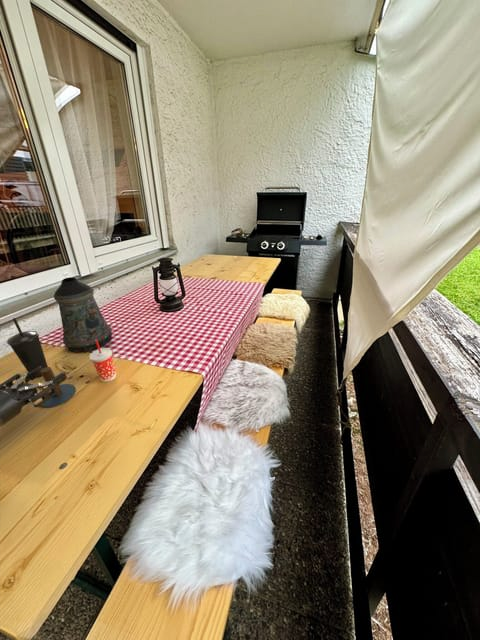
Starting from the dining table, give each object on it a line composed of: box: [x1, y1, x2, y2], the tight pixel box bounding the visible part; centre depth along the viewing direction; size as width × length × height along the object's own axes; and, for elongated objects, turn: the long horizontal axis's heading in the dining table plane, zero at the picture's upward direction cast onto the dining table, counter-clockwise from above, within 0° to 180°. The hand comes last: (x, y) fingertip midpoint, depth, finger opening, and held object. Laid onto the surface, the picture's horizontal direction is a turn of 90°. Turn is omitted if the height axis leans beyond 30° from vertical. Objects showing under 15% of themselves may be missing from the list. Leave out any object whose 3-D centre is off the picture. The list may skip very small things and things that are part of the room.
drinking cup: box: [6, 317, 49, 379], centre depth 79 cm, size 8×8×20 cm
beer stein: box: [53, 276, 113, 354], centre depth 95 cm, size 16×19×25 cm
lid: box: [39, 366, 77, 409], centre depth 72 cm, size 9×9×10 cm
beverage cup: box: [88, 339, 117, 383], centre depth 78 cm, size 6×6×14 cm
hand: (53, 371), depth 72 cm, fingers open, 8 cm apart
